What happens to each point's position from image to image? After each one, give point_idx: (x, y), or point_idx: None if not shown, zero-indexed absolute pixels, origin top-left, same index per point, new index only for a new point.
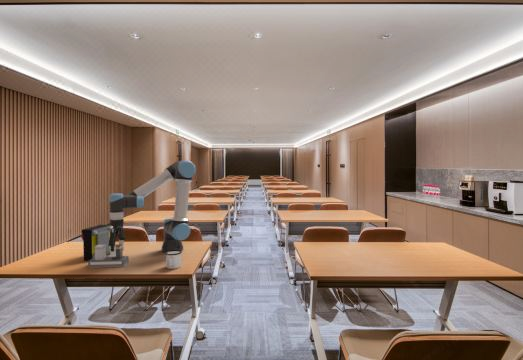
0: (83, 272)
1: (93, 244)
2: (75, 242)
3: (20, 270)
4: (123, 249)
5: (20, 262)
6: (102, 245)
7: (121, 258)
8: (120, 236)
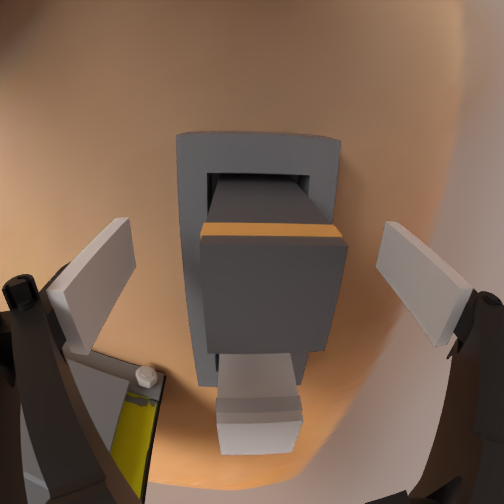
0: (371, 340)
1: (132, 454)
2: None
3: (273, 473)
4: (121, 222)
5: (198, 486)
6: (256, 431)
7: (252, 182)
8: (74, 396)
